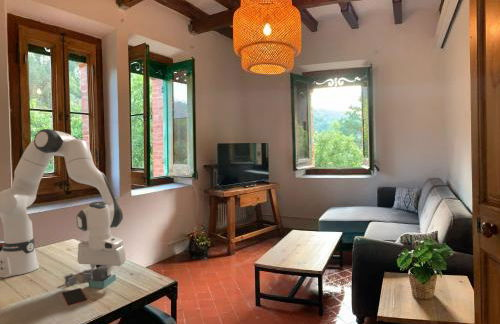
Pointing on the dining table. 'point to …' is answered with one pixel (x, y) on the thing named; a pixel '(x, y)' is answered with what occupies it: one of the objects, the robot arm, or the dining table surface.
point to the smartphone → (74, 296)
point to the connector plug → (100, 273)
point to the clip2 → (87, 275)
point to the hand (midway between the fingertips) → (102, 274)
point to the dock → (102, 282)
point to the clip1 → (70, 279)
